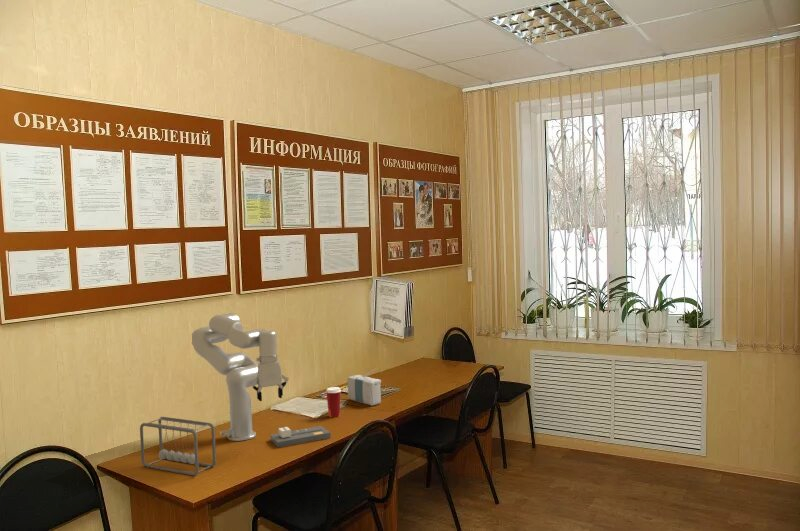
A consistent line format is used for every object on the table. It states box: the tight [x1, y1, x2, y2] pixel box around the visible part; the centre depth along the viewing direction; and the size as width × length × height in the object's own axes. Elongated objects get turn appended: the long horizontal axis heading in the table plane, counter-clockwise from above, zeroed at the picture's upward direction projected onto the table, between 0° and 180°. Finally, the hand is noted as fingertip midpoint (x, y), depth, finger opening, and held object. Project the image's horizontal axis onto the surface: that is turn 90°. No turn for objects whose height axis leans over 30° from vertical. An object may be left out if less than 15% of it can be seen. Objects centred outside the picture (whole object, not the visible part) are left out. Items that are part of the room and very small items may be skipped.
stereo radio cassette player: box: [347, 366, 382, 407], centre depth 333 cm, size 21×8×20 cm, turn 42°
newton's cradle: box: [139, 416, 217, 477], centre depth 244 cm, size 30×10×18 cm, turn 64°
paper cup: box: [325, 386, 342, 418], centre depth 308 cm, size 8×8×14 cm
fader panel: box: [269, 425, 331, 449], centre depth 273 cm, size 24×12×3 cm, turn 117°
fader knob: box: [278, 426, 292, 438], centre depth 270 cm, size 4×5×3 cm
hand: (270, 398), depth 267 cm, fingers open, 8 cm apart
